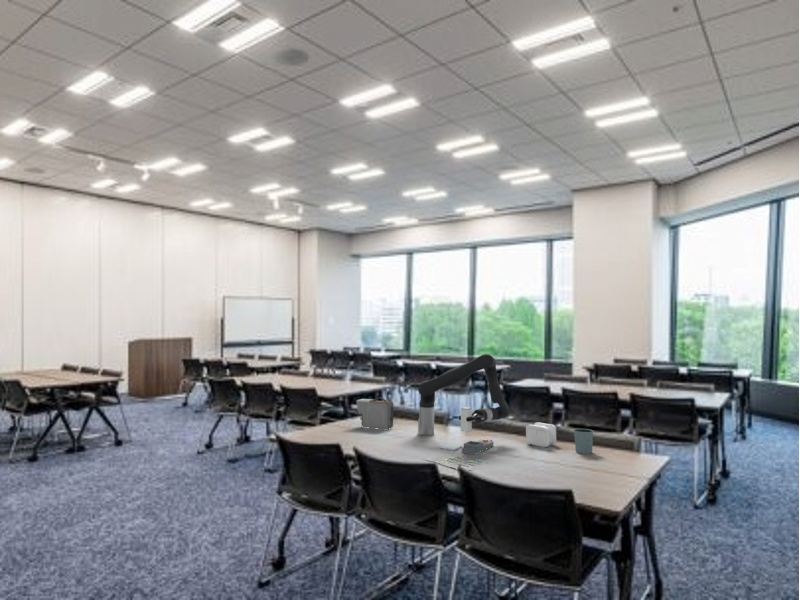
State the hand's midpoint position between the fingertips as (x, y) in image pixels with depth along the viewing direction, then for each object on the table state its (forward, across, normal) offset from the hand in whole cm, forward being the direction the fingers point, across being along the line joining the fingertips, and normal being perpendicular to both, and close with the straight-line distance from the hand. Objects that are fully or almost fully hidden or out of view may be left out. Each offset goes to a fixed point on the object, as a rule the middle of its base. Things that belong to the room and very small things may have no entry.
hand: (463, 418), depth 300 cm
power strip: (-13, +2, +18) cm, 22 cm away
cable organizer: (-46, +20, +18) cm, 53 cm away
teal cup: (-48, +45, +17) cm, 68 cm away
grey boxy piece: (-3, -82, +18) cm, 84 cm away
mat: (0, -9, +18) cm, 20 cm away
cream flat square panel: (+15, +14, +18) cm, 28 cm away
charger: (-3, 0, +7) cm, 8 cm away
